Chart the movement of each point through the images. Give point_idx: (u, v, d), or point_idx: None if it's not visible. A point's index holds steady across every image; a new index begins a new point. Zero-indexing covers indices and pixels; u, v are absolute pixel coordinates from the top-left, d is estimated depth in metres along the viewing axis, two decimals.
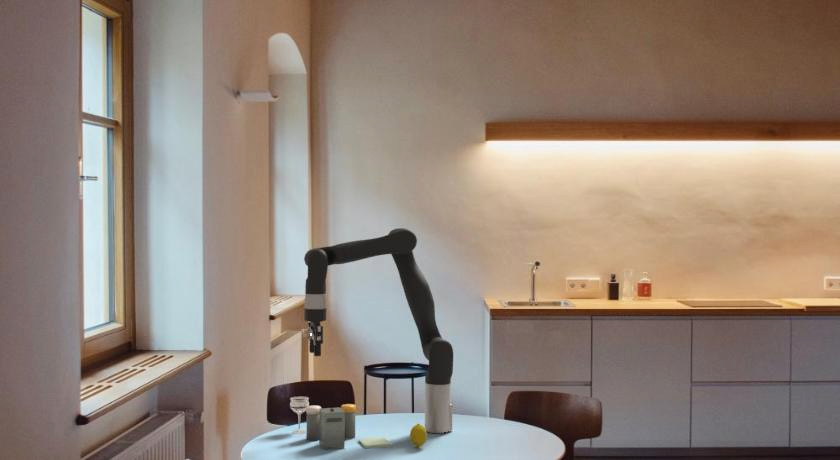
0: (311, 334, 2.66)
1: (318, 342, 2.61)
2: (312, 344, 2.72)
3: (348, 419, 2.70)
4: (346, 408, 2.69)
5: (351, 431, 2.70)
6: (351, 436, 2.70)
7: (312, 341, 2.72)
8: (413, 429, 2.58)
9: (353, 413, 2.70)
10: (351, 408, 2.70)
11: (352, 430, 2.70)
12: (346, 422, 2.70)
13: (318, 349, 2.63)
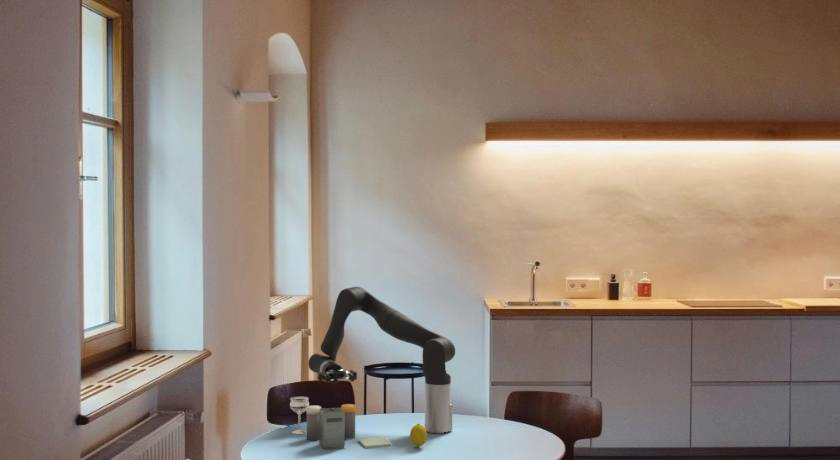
0: (331, 380, 2.88)
1: (319, 378, 2.85)
2: (349, 377, 2.86)
3: (348, 419, 2.70)
4: (346, 408, 2.70)
5: (351, 431, 2.70)
6: (351, 436, 2.70)
7: (349, 377, 2.87)
8: (413, 429, 2.58)
9: (353, 413, 2.70)
10: (351, 408, 2.70)
11: (352, 430, 2.70)
12: (346, 422, 2.70)
13: (325, 378, 2.83)
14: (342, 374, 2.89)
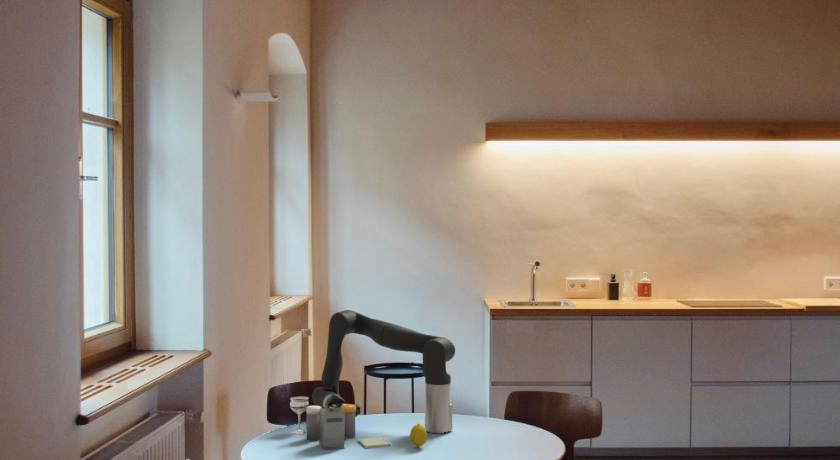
0: None
1: None
2: None
3: (348, 419, 2.70)
4: (346, 408, 2.69)
5: (351, 431, 2.70)
6: (351, 436, 2.70)
7: None
8: (413, 429, 2.58)
9: (353, 413, 2.70)
10: (351, 408, 2.70)
11: (352, 430, 2.70)
12: (346, 422, 2.70)
13: None
14: None
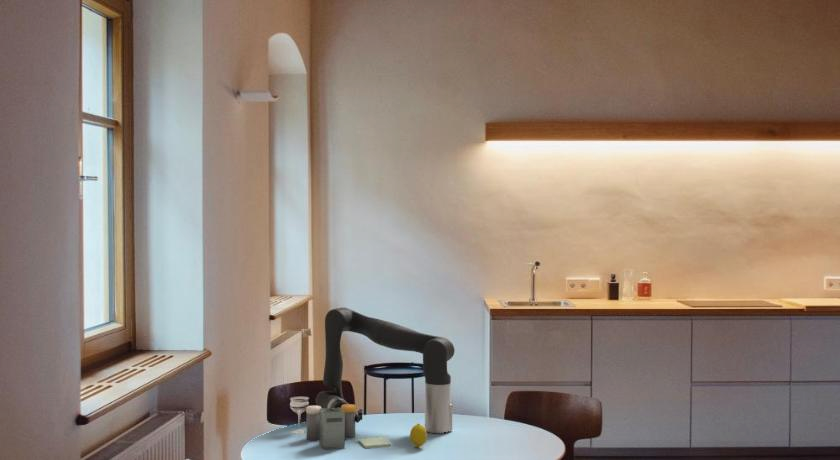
0: None
1: None
2: (355, 418, 2.73)
3: (348, 419, 2.70)
4: (346, 408, 2.69)
5: (351, 431, 2.70)
6: (351, 436, 2.70)
7: None
8: (413, 429, 2.58)
9: (353, 413, 2.70)
10: (351, 408, 2.70)
11: (352, 430, 2.70)
12: (346, 422, 2.70)
13: None
14: None
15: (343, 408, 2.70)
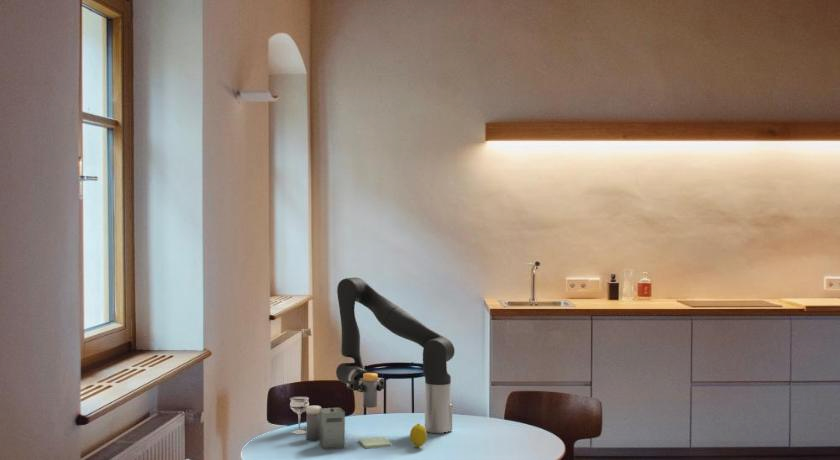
0: None
1: (353, 387, 2.70)
2: None
3: (370, 387, 2.67)
4: (368, 376, 2.67)
5: (373, 400, 2.68)
6: (373, 405, 2.67)
7: None
8: (413, 429, 2.58)
9: (375, 381, 2.68)
10: (373, 376, 2.67)
11: (374, 399, 2.68)
12: (368, 390, 2.67)
13: (359, 387, 2.68)
14: None
15: (365, 376, 2.68)
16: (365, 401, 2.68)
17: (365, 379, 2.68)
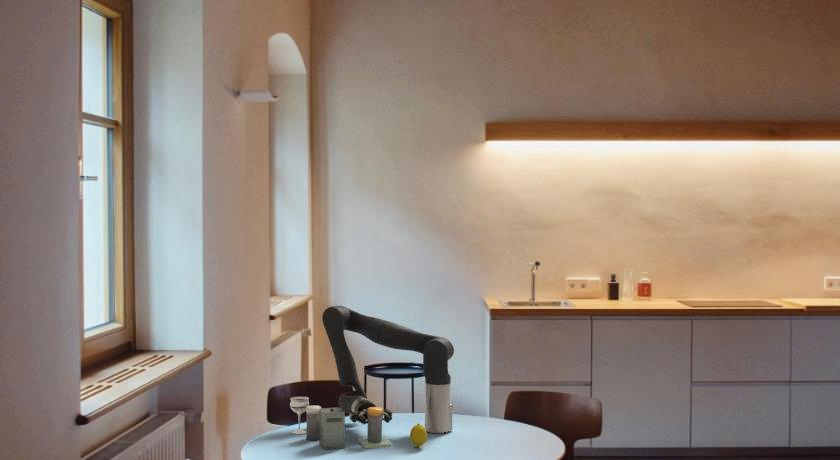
0: None
1: (353, 419, 2.64)
2: (384, 418, 2.65)
3: (375, 423, 2.61)
4: (373, 411, 2.61)
5: (378, 435, 2.62)
6: (377, 441, 2.62)
7: (384, 417, 2.67)
8: (413, 429, 2.58)
9: (380, 416, 2.62)
10: (378, 411, 2.61)
11: (379, 434, 2.62)
12: (373, 426, 2.61)
13: (359, 419, 2.62)
14: None
15: (370, 411, 2.62)
16: (370, 436, 2.62)
17: (370, 414, 2.62)
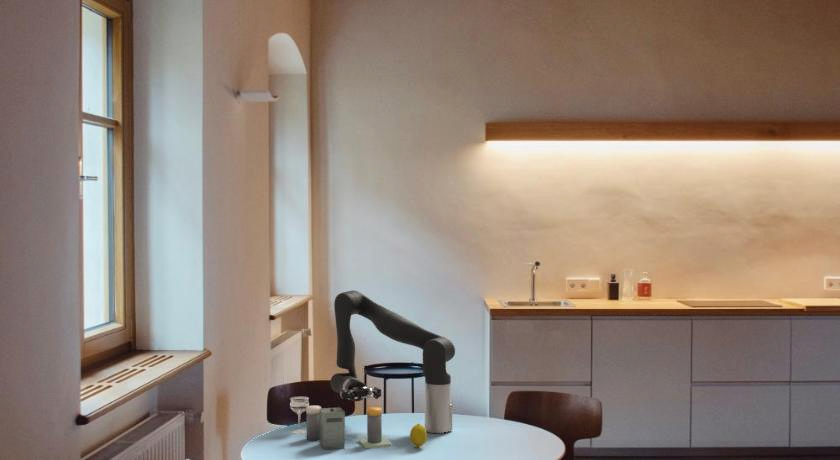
0: (355, 398, 2.81)
1: (342, 396, 2.77)
2: (374, 394, 2.79)
3: (374, 422, 2.61)
4: (372, 411, 2.61)
5: (377, 435, 2.62)
6: (377, 440, 2.62)
7: None
8: (413, 429, 2.58)
9: (379, 416, 2.62)
10: (377, 411, 2.62)
11: (378, 434, 2.62)
12: (372, 426, 2.61)
13: (349, 396, 2.75)
14: (366, 392, 2.82)
15: (369, 411, 2.62)
16: (369, 436, 2.62)
17: (369, 414, 2.62)
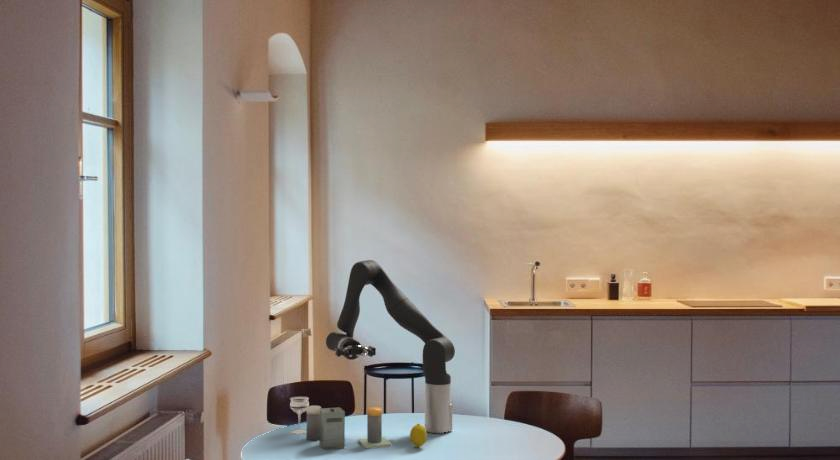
0: (349, 356, 2.84)
1: (337, 353, 2.80)
2: (368, 353, 2.81)
3: (374, 423, 2.61)
4: (372, 411, 2.61)
5: (377, 435, 2.62)
6: (377, 441, 2.61)
7: (368, 352, 2.83)
8: (413, 429, 2.58)
9: (379, 416, 2.62)
10: (377, 411, 2.61)
11: (378, 434, 2.62)
12: (372, 426, 2.61)
13: (343, 353, 2.78)
14: (361, 350, 2.84)
15: (369, 411, 2.62)
16: (369, 436, 2.62)
17: (369, 414, 2.62)
